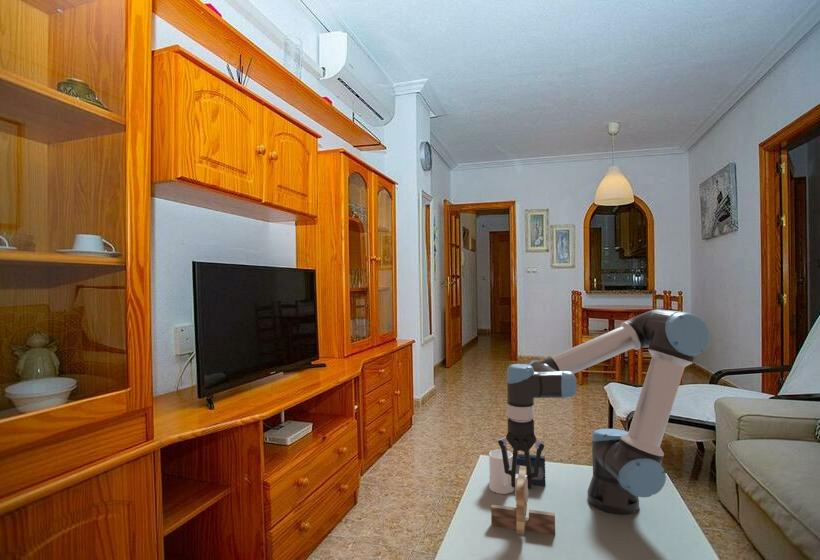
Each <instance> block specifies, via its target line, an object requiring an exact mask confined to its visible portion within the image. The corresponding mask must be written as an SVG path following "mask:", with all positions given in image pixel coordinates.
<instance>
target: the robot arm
mask: <svg viewBox="0 0 820 560" xmlns="http://www.w3.org/2000/svg"><path fill="white" fill-rule="evenodd" d="M619 325H620V326H619V327H617V328H614V329H612V330H610V331H607V332H605V333H603V334H601V335H598V336H596V337H594V338H591V339H590V340H588V341H587V340H586V341H584V342H582V343H581V344H580V343H579V344H578V345H576V346H574V347H572V348H569V349H567V350H564V351H562V352H560V353H557V354H555V355H552V356H551V357H550V356H549V357H548V358H546V359H543V360H537V359H536V360H532V361H530V362H529V363H528V364H526V363H523V364H522V363H513V364H510V365H509V366H507V369H506V370H507V371H506V388H507V389H506V393H507V394H506V395H507V403H506V407H507V410H506V411H507V414H506V415H507V433H506V435H505V436H504V437H499V438H498V441H497V442H498V445H499V447H500V450H501V451H502V457H503V464H504V470H505V473H506V474H509V475H511V486H512V487H514V492H515V493H514V494H515V501H516V487H517V481H518V474H516V465H517V454H519V453H518V452H519V451H520V452H523V454H524V455H525V462H526V470H527V475H525V501H527V503H528V502H529V490H532V488H533V485H532V478H533V477H538V472H539V465H540V457H541V456H542V452H543V450H544V448H545V442H544V441H540V440H538V439H537V437H536V435H535V420H534V418H535V402H534V401H535V399H541V398H542V399H545V398H547V399H549V398H551V399H553V398H554V399H555V398H557V399H558V398H559V399H560V398H561V399H563V398H564V399H565V398H572V397H574V396H575V395H576V392H577V388H578V387H577V385H578V384H577V378H576V376H575V374H576V373H579V372H581V371H583V370H586V369H588V368H591V367H592V366H594V365H595V366H596V365H597V364H601V363H602V362H604V361H606V360H609V359H611V358H613V357H616V356H618V355H620V354H623V353H625V352H627V351H630V350H635V351H638V350H640V349H643V348H646V347H648V349H647V350H648V352H649V354H650V356H651V359H650V361H649V366H648V369H647V371H646V375H645V379H644V382H643V383H642V384H643V385H642V387H641V390H640V395H639V397H638V401H637V404H636V406H635V411H634V413H633V417H632V420H631V422H630V427H629V429H628V431H627V430H622V429H618V428H617V429H616V428H599V429H596V430H594V431H593V432H592V438H591V448H592V449H591V451H592V453H591V454H592V477H591V479H590V482H589V485H588V489H587V500H588V502H589V504H591V505H592V506H593V507H595V508H597V509H599V510H600V511H601V510H602V511H604V512H607V513H610V514H617V515H628V514H633V513H635V512H637V511H638V510H639V509H640V499H639V498H650V497H652V496H654V495H657V494H658V493H660V492H661V491H662V489H663V488H664V486H665V484H666V480H667V476H666V472H665V469H664V467H663V466H662V462H663V459H664V456H665V453H664V451H663V449H662V448H661V444H662V442H663V437H664V435H665V431H666V428H667V425H668V423H669V419H670V417H671V412H672V409H673V407H674V403H675V399H676V398H677V397H676V396H677V394H678V389H679V386H680V383H681V380H682V377H683V374H684V371H685V368H686V367H688V366H690V365H692V364H693V363H694V360H695V357H696V356H697V355H700V354H701V352H705V350H706V349H707V348H708V346H709V344H710V340H711V335H710V334H711V333H710V329H709V327H708V325H707V324H706V322H705V321H704V320H703V319H702V318H701V317H699V316H698V315H696V314H694V313H690V312H688V311H681V310H680V311H679V310H671V309H670V310H669V309H661V308H660V309H658V308H657V309H656V308H655V309H651V310H648V311H646V312H644V313H641V314H638V315H635V316H634V317H632V318H630V319H627V320H625V321H623V322H620V324H619ZM508 444H509V445H510V446H511V448H512V449H513V450H512V453H513V459H512V469H510V468H509V461H508V455H507V451H508V449H507V445H508ZM534 444H535V449H536V454H535V455H536V460H535V467H534V471H532V470H531V462H530V455H531V453H530V450H531V448H532V447H533V446H534Z"/></svg>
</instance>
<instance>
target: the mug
mask: <svg viewBox="0 0 820 560" xmlns="http://www.w3.org/2000/svg"><path fill="white" fill-rule="evenodd" d="M512 453H513V452H511V451H509V450H507V455H508V461H509V468H510V469H512V459H513V454H512ZM488 458H489V489H490V491H492V492H493V493H495V492H496V494H500V495H506V494H511V493H513V492H515V487H512V486H511V475H509V474H506V473H505V470H504V464H503V457H502V451H501V448H500V449H494V450H490V451H489V453H488Z"/></svg>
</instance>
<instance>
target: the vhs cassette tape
mask: <svg viewBox="0 0 820 560" xmlns="http://www.w3.org/2000/svg"><path fill="white" fill-rule="evenodd" d="M511 453H512V454H513V452H511ZM535 460H536V454H535V455H534V454H530V462H531V470H532V471H534V467H535ZM520 466H524V467H526V462H525V455H524V453H523V454H522V453H518V454H517V465H516V474H518V475H519V468H520ZM546 479H547V478H546V457H545V455H541V457H540V465H539V472H538V477H533V478H532V486H536V487H546Z"/></svg>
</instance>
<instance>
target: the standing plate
mask: <svg viewBox="0 0 820 560" xmlns="http://www.w3.org/2000/svg"><path fill="white" fill-rule="evenodd" d="M490 513H491V514H490V515H491V516H490V517H491V518H490V519H491V521H490V522H491V526H493V527H496V528H497V527H499V528H504V529H512V530H517V523H516V507H514V506H505V505H498V504H491V506H490ZM525 531H526V532H531V533H540V534H546V535H553V536H556V513H555V512H550V511H545V510H544V511H543V510H535V509H528V517H526V516H525ZM525 531H524V532H525Z"/></svg>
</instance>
